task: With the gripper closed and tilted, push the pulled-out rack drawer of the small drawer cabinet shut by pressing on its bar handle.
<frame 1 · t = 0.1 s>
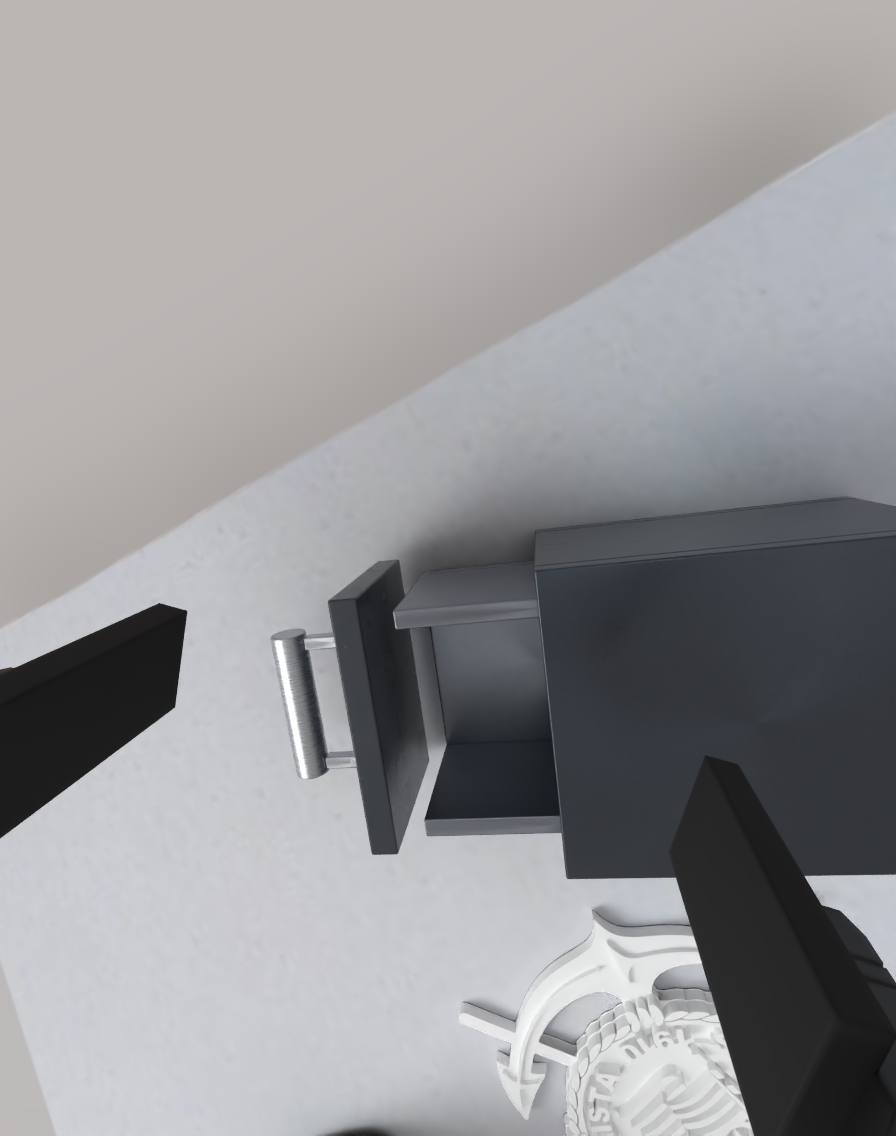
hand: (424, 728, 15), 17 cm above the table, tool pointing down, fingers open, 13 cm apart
small drawer cabinet: (692, 636, 31), on the table
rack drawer: (470, 688, 28), point 5 cm above the table, slide at 7.0 cm
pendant: (694, 1093, 37), on the table
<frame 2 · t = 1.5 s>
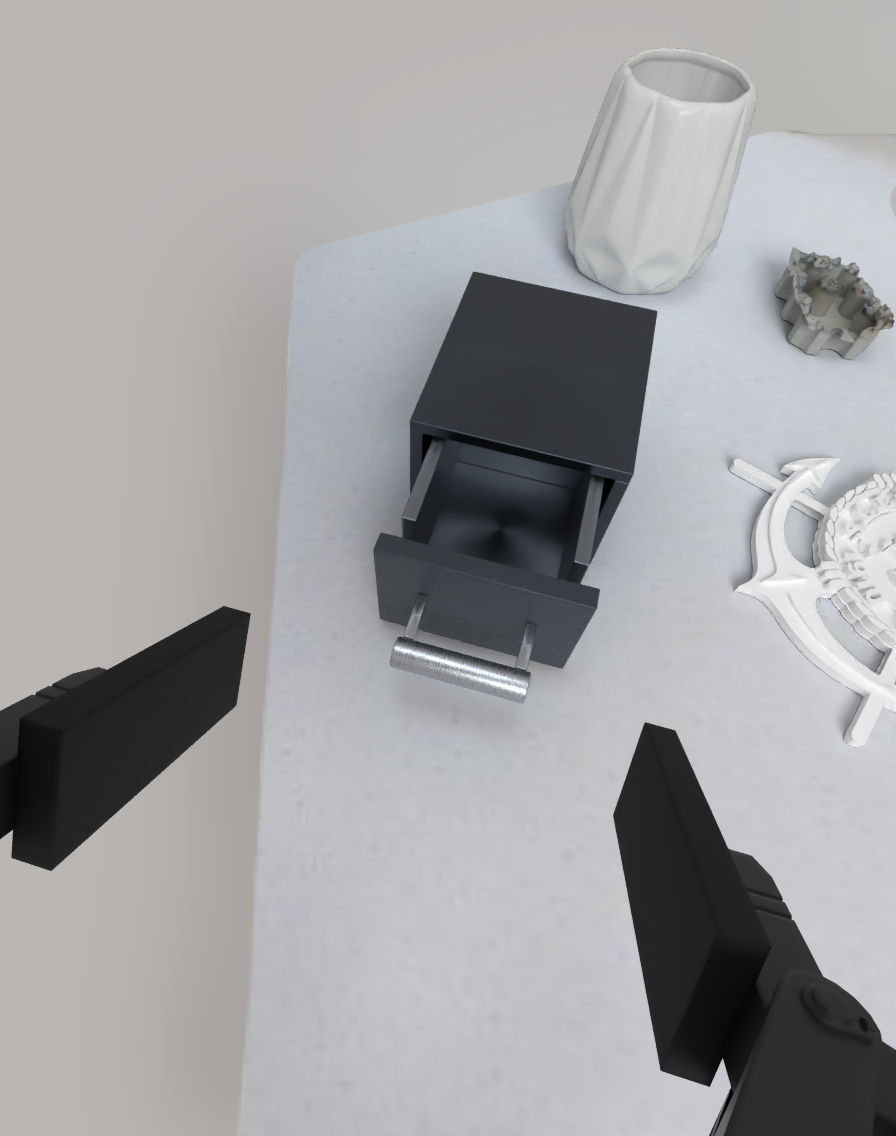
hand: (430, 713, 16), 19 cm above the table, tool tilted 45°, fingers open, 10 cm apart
small drawer cabinet: (519, 464, 45), on the table
vase: (627, 264, 60), on the table
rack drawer: (494, 547, 36), point 5 cm above the table, slide at 7.0 cm
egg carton: (814, 322, 56), on the table
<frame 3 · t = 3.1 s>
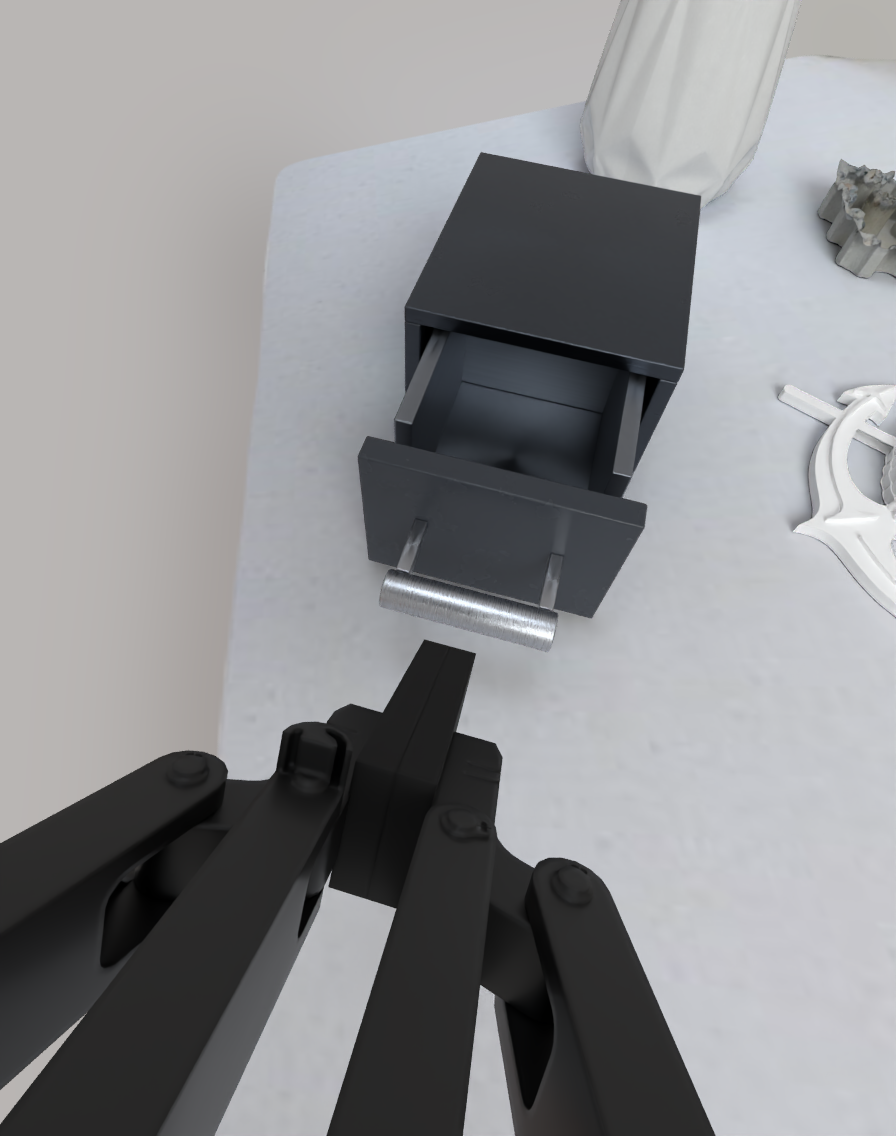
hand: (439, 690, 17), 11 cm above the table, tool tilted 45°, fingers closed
small drawer cabinet: (534, 391, 39), on the table
vase: (651, 183, 53), on the table
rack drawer: (508, 468, 29), point 5 cm above the table, slide at 7.0 cm
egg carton: (864, 245, 50), on the table
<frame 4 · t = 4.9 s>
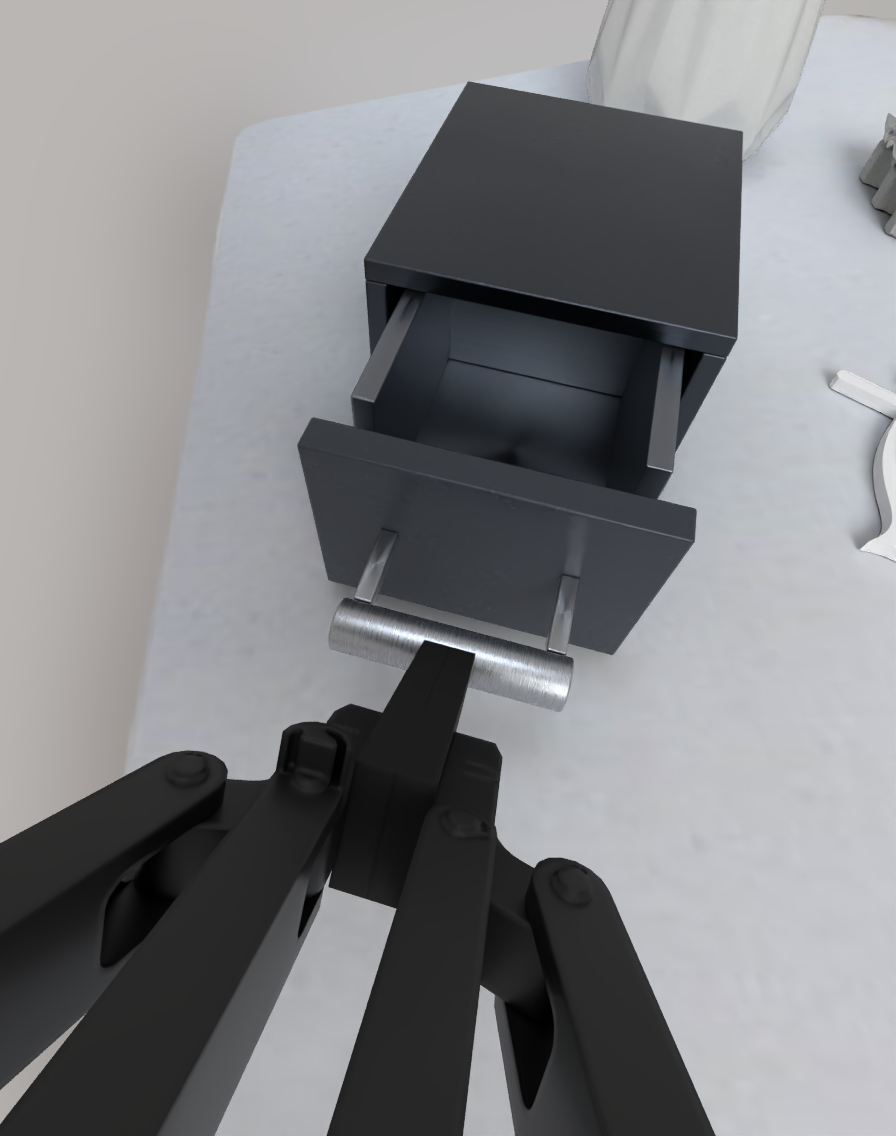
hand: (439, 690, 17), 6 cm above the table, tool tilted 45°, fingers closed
small drawer cabinet: (535, 378, 32), on the table
vase: (667, 146, 46), on the table
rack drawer: (505, 463, 23), point 5 cm above the table, slide at 6.5 cm, touching gripper
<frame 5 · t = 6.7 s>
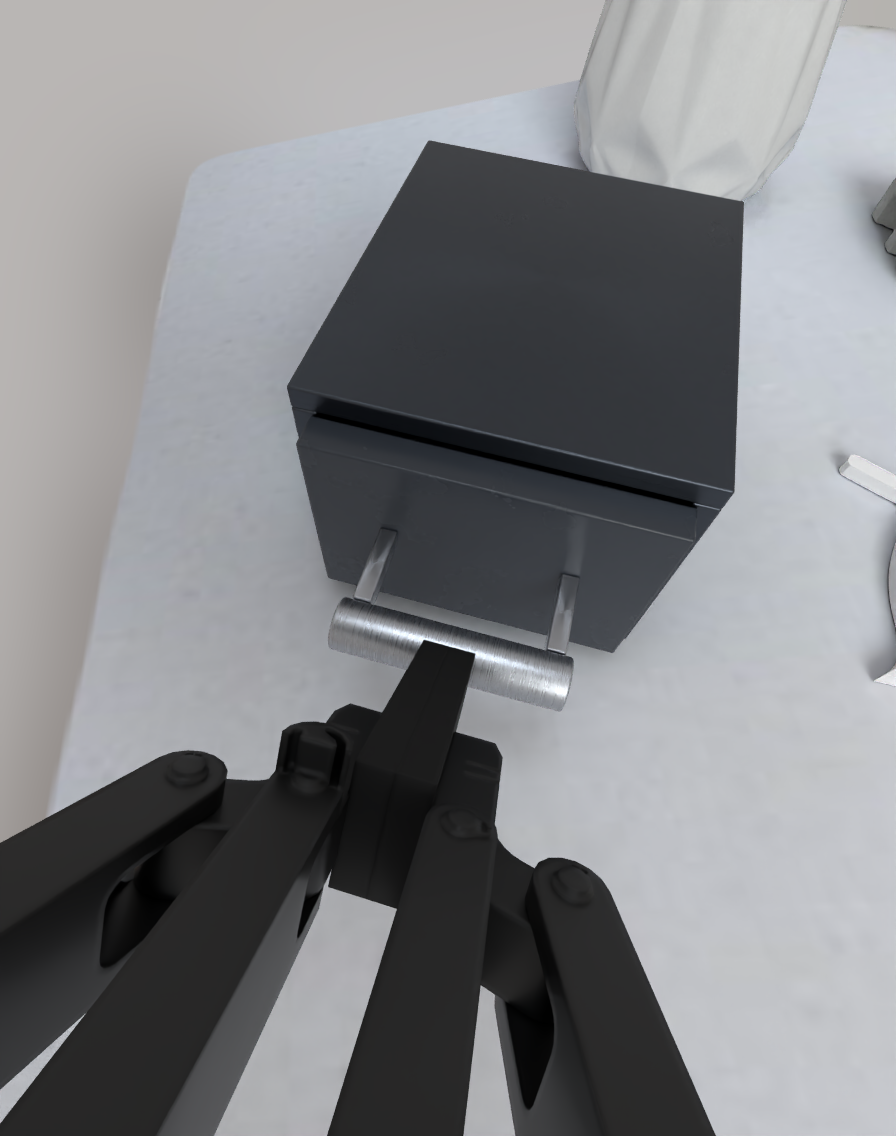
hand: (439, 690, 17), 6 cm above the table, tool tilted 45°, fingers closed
small drawer cabinet: (510, 466, 29), on the table
vase: (662, 180, 43), on the table
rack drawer: (506, 460, 23), point 5 cm above the table, slide at 0.0 cm, touching small drawer cabinet, gripper
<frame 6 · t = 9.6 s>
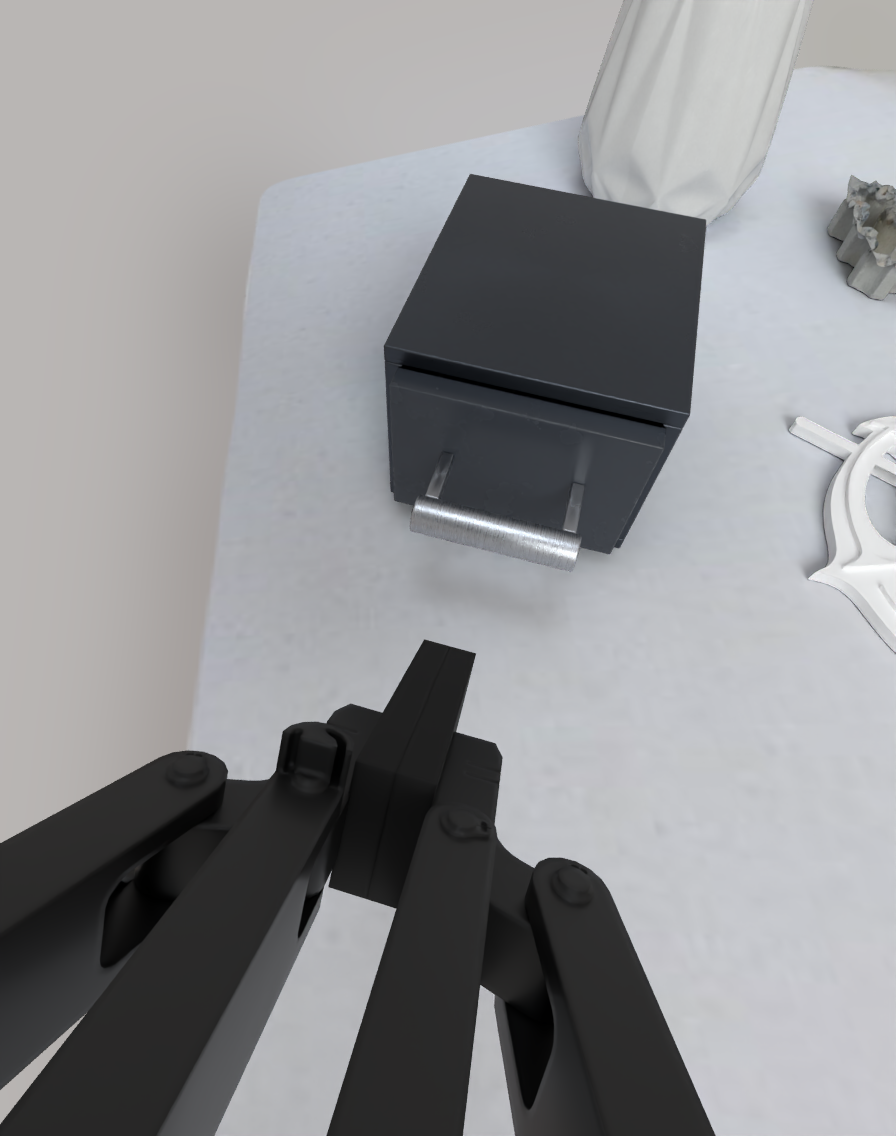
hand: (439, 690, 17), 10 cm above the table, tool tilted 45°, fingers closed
small drawer cabinet: (529, 424, 36), on the table
vase: (652, 200, 51), on the table
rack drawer: (529, 409, 30), point 5 cm above the table, slide at 0.0 cm, touching small drawer cabinet
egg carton: (876, 264, 48), on the table
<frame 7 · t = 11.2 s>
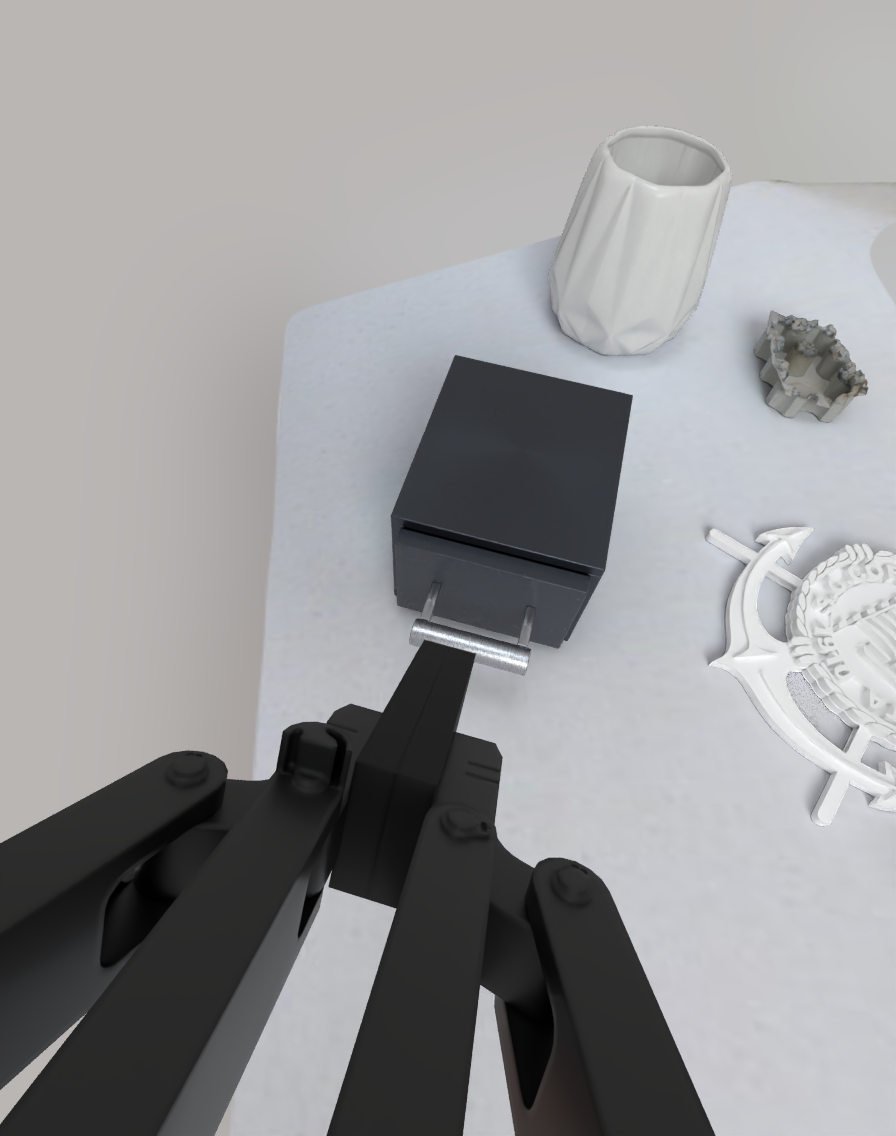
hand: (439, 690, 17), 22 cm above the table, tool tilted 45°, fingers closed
small drawer cabinet: (502, 535, 47), on the table
vase: (611, 323, 61), on the table
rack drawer: (498, 541, 41), point 5 cm above the table, slide at 0.0 cm, touching small drawer cabinet
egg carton: (792, 382, 58), on the table
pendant: (894, 651, 44), on the table
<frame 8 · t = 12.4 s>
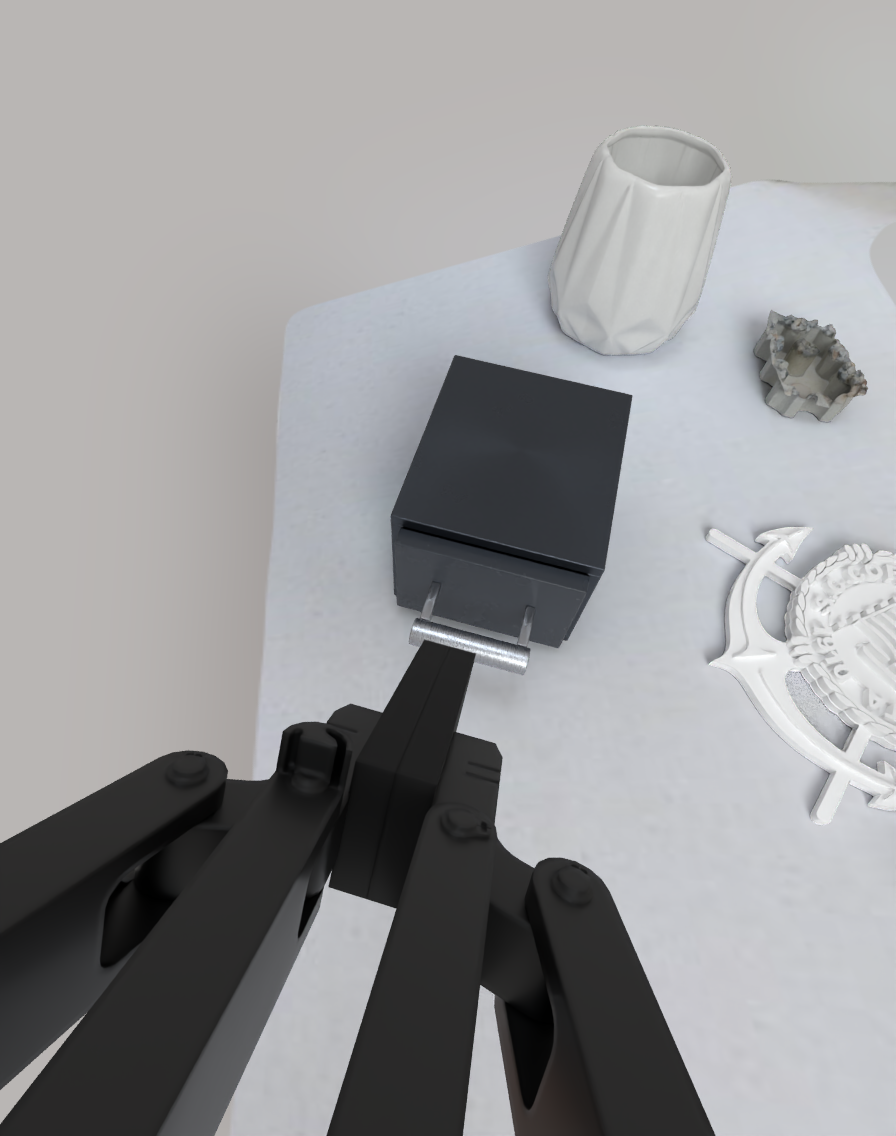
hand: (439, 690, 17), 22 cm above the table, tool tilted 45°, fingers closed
small drawer cabinet: (501, 535, 47), on the table
vase: (610, 323, 61), on the table
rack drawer: (498, 541, 41), point 5 cm above the table, slide at 0.0 cm, touching small drawer cabinet
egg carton: (792, 382, 58), on the table
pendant: (893, 651, 44), on the table
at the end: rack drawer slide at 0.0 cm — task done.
